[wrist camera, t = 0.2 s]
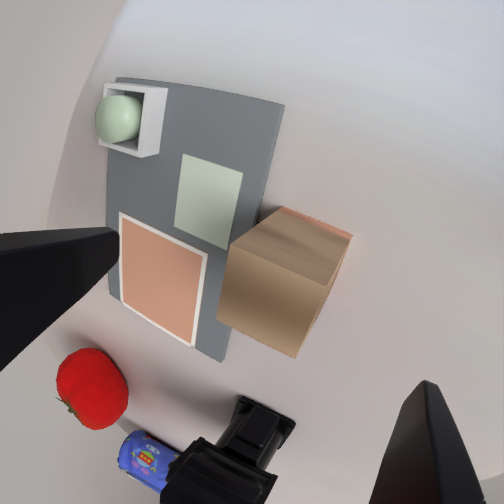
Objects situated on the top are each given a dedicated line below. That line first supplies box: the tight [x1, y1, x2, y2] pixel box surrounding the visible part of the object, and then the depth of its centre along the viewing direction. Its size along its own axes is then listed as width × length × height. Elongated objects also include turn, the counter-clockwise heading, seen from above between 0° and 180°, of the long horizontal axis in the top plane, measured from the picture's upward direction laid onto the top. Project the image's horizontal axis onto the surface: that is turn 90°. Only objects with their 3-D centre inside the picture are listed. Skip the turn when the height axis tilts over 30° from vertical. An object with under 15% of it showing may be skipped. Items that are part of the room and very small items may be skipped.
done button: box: [95, 95, 143, 143], centre depth 21 cm, size 4×4×2 cm
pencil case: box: [117, 430, 181, 494], centre depth 42 cm, size 22×9×10 cm, turn 87°
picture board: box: [99, 77, 285, 363], centre depth 25 cm, size 23×15×3 cm, turn 167°
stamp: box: [216, 206, 353, 359], centre depth 19 cm, size 5×5×7 cm
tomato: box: [56, 348, 129, 430], centre depth 39 cm, size 11×13×10 cm
